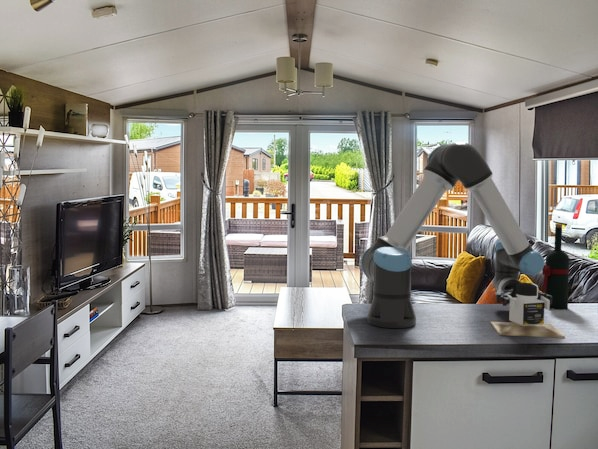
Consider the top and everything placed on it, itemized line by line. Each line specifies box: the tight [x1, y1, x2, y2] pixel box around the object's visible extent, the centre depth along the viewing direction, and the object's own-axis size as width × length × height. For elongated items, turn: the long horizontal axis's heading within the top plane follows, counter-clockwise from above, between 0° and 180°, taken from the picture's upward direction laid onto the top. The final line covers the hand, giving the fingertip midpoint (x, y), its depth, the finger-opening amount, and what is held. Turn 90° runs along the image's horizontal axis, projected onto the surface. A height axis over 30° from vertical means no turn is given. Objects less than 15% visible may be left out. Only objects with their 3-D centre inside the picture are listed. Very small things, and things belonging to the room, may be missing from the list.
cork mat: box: [490, 321, 566, 339], centre depth 171 cm, size 18×14×1 cm
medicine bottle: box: [508, 282, 545, 326], centre depth 170 cm, size 7×7×12 cm
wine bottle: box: [540, 223, 570, 311], centre depth 202 cm, size 8×10×30 cm
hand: (530, 304), depth 166 cm, fingers closed on medicine bottle, 9 cm apart
